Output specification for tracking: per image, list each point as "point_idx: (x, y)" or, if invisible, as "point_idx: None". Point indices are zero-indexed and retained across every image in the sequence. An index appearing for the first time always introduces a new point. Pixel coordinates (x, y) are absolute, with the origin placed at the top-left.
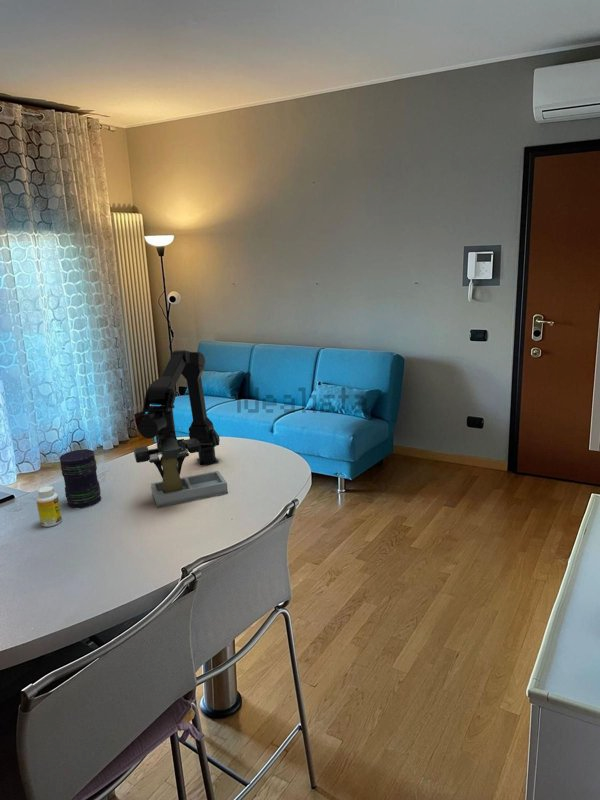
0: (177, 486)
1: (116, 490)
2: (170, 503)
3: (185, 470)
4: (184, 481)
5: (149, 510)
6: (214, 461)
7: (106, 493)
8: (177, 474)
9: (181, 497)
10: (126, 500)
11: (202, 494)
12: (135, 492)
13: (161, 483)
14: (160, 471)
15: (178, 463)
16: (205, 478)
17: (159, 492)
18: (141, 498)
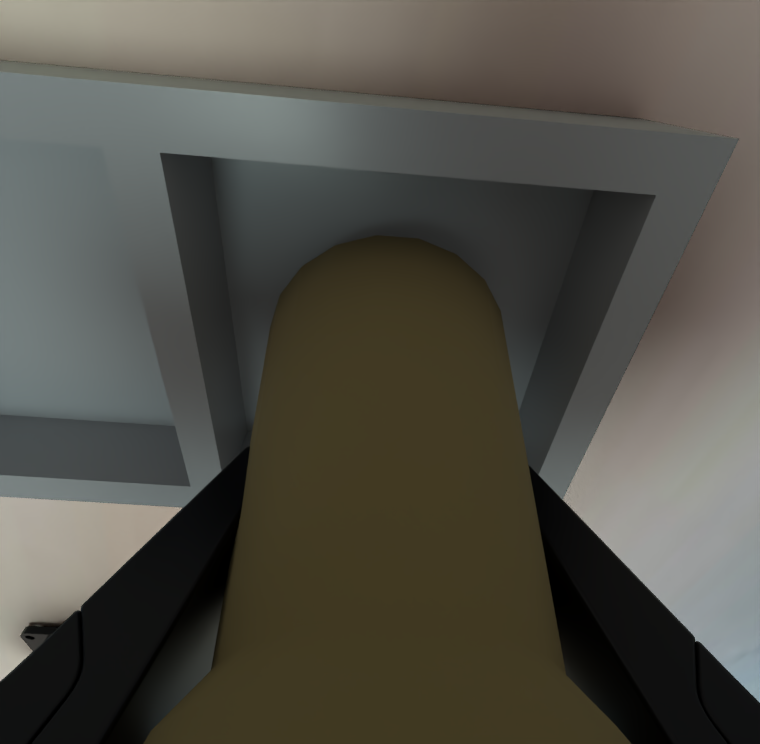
0: (334, 285)
1: (669, 584)
2: (484, 106)
3: None
4: None
5: (747, 98)
6: (45, 637)
7: (737, 577)
8: (273, 440)
9: (330, 94)
10: (728, 444)
11: (27, 66)
12: (599, 520)
13: None
14: (631, 596)
15: (111, 725)
16: (30, 441)
17: None
18: (624, 422)
